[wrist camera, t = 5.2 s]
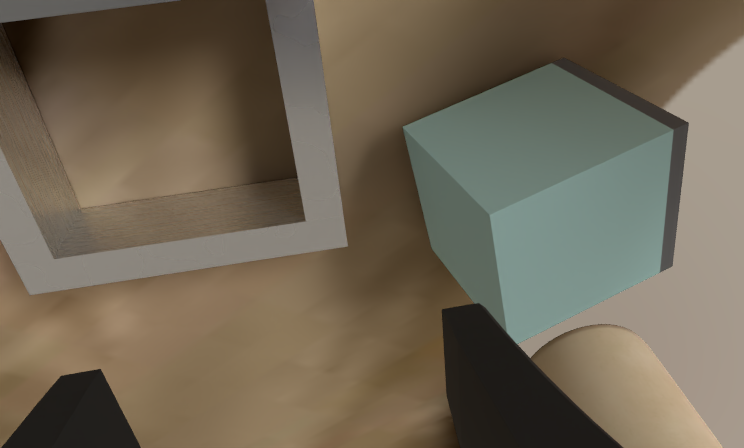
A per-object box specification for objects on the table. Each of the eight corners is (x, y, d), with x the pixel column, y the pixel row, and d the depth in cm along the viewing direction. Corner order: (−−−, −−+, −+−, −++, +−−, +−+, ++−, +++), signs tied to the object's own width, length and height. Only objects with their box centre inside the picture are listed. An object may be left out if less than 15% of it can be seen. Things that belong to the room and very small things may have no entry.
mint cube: (402, 126, 16) (564, 57, 17) (431, 248, 19) (568, 185, 19) (489, 214, 12) (688, 122, 13) (509, 348, 15) (672, 266, 16)
